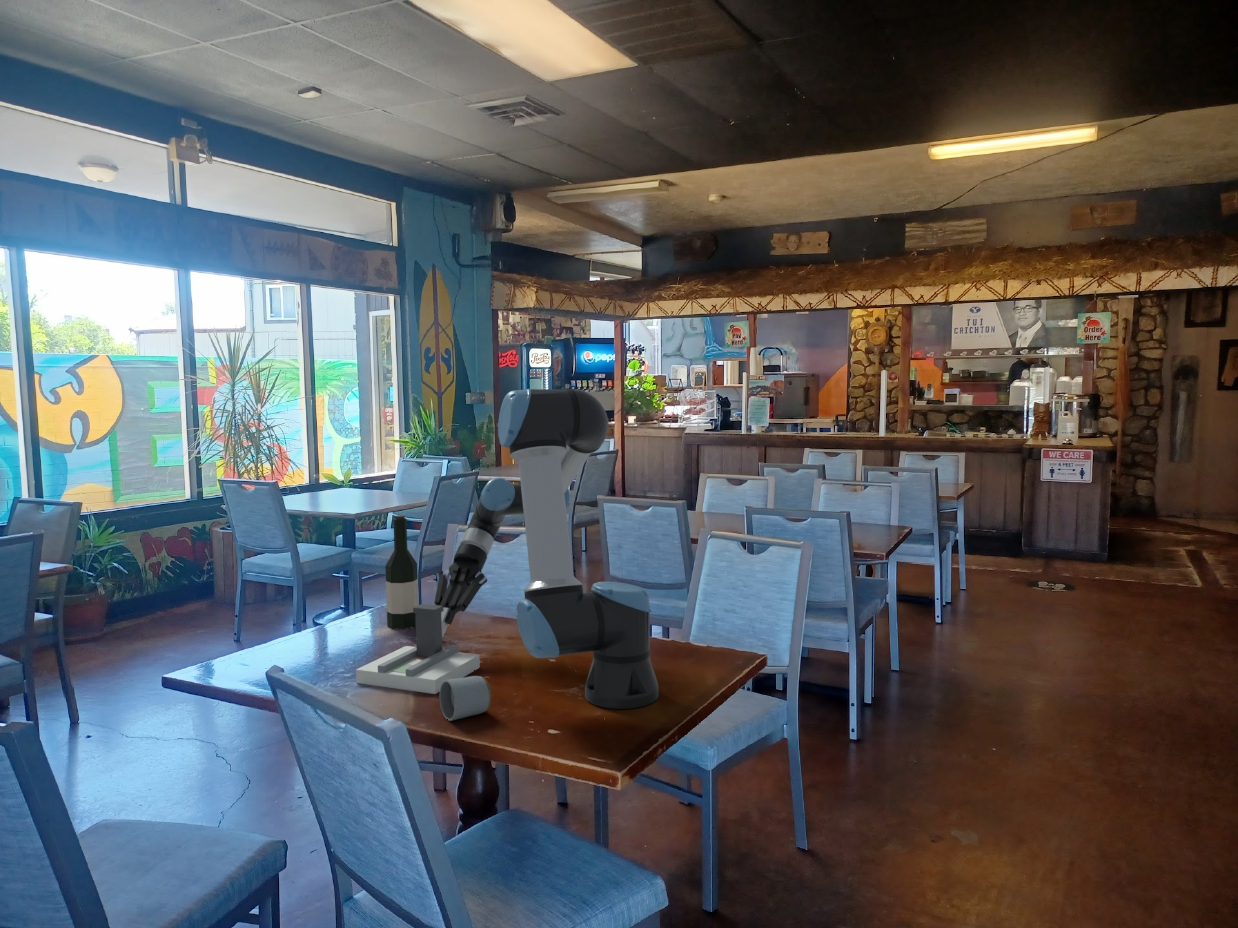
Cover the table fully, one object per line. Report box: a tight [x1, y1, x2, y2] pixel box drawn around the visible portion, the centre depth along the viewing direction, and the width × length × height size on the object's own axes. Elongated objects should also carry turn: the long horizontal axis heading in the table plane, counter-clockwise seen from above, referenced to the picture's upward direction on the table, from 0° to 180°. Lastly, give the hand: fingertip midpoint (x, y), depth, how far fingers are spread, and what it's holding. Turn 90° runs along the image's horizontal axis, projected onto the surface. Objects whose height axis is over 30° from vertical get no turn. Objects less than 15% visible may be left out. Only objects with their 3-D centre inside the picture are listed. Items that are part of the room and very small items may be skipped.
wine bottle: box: [385, 514, 419, 630], centre depth 224 cm, size 8×8×30 cm
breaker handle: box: [413, 603, 443, 657], centre depth 187 cm, size 6×4×11 cm, turn 69°
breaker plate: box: [355, 644, 481, 695], centre depth 184 cm, size 20×18×4 cm
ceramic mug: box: [438, 675, 492, 722], centre depth 162 cm, size 11×8×8 cm
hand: (437, 634), depth 191 cm, fingers closed
